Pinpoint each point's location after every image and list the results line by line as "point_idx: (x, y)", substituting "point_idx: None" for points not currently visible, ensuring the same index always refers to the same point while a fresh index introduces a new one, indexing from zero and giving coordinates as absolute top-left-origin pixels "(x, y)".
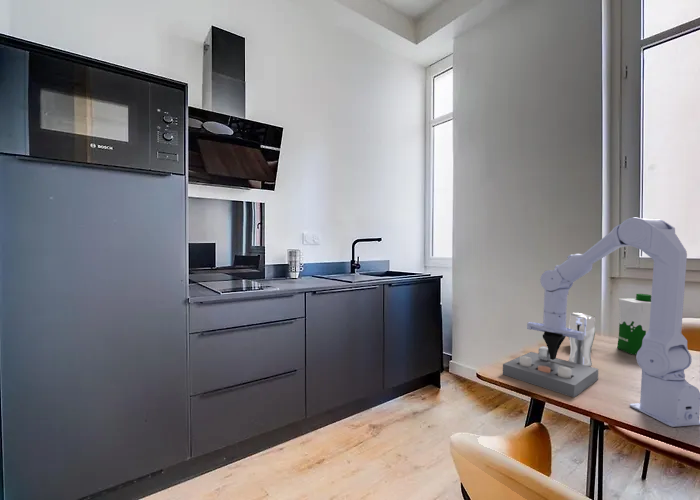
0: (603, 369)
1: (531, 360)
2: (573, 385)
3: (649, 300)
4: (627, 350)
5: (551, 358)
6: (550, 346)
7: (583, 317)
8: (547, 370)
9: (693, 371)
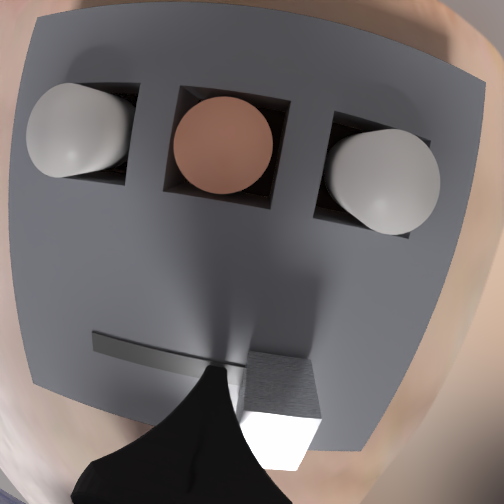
0: (98, 458)
1: (342, 180)
2: (42, 16)
3: None
4: None
5: (216, 369)
6: (209, 433)
7: None
8: (190, 110)
9: (15, 486)
